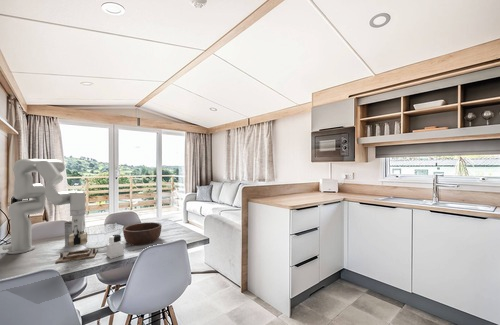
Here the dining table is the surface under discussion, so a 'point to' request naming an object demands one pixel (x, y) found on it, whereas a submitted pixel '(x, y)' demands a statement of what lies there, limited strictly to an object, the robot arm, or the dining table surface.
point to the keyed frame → (77, 255)
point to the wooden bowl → (142, 233)
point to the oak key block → (82, 236)
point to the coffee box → (68, 232)
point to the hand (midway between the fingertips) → (78, 242)
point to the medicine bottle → (114, 247)
